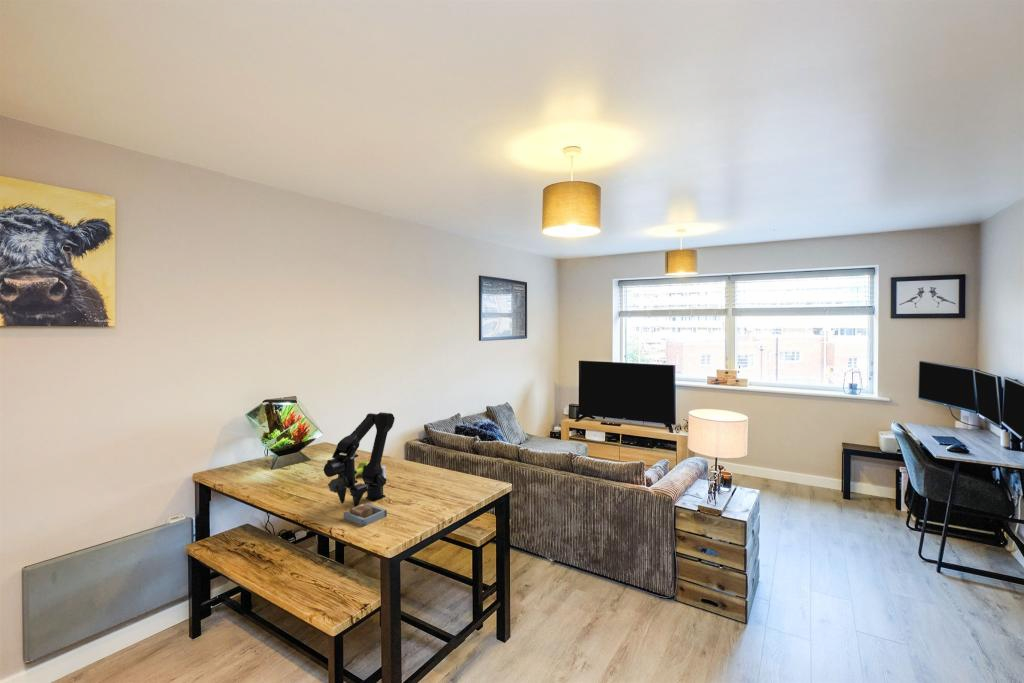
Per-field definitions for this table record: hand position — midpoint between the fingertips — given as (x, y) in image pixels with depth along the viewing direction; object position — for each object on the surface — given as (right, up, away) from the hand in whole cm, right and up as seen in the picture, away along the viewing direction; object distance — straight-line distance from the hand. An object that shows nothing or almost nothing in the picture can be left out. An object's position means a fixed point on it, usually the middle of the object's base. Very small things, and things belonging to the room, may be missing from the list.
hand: (349, 505), depth 199 cm
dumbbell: (-10, -1, +40) cm, 42 cm away
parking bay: (+8, -3, -6) cm, 11 cm away
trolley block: (+7, -3, -6) cm, 10 cm away
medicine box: (+3, -1, +33) cm, 33 cm away
